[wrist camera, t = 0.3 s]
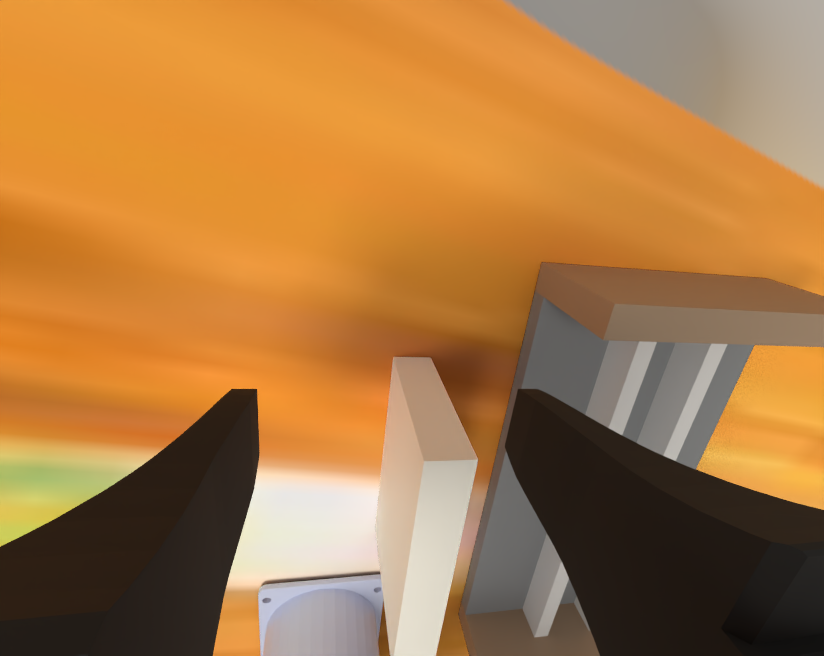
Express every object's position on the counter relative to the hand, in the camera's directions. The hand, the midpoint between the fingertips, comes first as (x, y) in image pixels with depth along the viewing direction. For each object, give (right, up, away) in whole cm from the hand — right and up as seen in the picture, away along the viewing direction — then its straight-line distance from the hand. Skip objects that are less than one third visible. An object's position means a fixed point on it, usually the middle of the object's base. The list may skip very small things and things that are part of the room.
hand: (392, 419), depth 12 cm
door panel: (0, -4, +13) cm, 14 cm away
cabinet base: (+12, -7, +16) cm, 21 cm away
